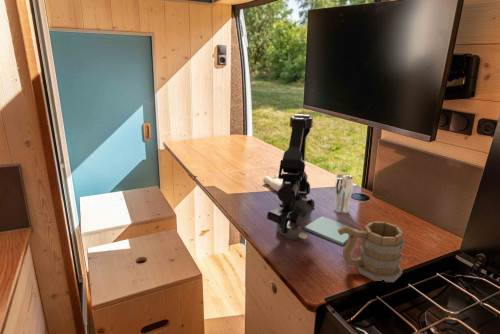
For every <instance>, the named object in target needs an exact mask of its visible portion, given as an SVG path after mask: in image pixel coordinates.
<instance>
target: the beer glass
mask: <svg viewBox="0 0 500 334" xmlns="http://www.w3.org/2000/svg"><path fill="white" fill-rule="evenodd" d="M335 177H336V178H335V185H334V195H335V196H334V197H335V204H334V208H333V211H334V212H336V213H338V214H347V213H349V211H350V208H349V207H350V205H349V204H350V199H351V198H352V197H351V196H352V193H353V187H354V186H353V185H354V177H353V176H352V175H350V174H346V173H345V174H344V173H339V174H337V175H336V176H335Z"/></svg>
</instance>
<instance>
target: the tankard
mask: <svg viewBox="0 0 500 334" xmlns="http://www.w3.org/2000/svg"><path fill="white" fill-rule="evenodd" d="M347 226H348V225H347ZM347 226H344V227H342V228H339V229H338V232H339V234H340V235H342V234H344V233H347V234H348V235H349V237H348V241H347V242H346V243H345V244H344V247H343V249H342V259H344V262H345V264H346V265H349V266H353V267H354V266H356V268H357V270H358V271H357V272H358V273H359V274H360V275H361V276H363V277H366V278H368V279H369V280H371V281H373V282H375V281H382V280H384V281H385V282H384V283H395V282H396V281H397V280H398V278H400V277H401V276H402V275H403V269H402V268H401V266H400V264H401V263H402V260H403V254H401V252H402V250H403V249H404V248H405V243H406V242H405V240H404V232H403V231H402V229H401V228H400V227H399V226H398V225H395V224H393V223H390V222H388V221H387V222H386V221H370V222H369V223H367V224H365V225H364V229H363V230H359V231H356V230H354V229H351V228H349V227H350V226H349V227H347ZM357 238H360V240H361V242H362V245H360V246H359V250H358V253H359V255H360V256H359V257H357V258H356V257H355V258H354V257H351V253H352V250H353V249H354V247H355V245H356V242H357ZM401 274H402V275H401Z"/></svg>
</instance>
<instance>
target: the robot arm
mask: <svg viewBox="0 0 500 334" xmlns="http://www.w3.org/2000/svg"><path fill="white" fill-rule="evenodd" d="M313 123H314V118H313V117H311V115H310V114H300V113H294V114H293V116H290V117H289V127H290V128H291V133H290V140H289V144H288V145H289V146H288V148H287V150H285V151H284V152H283V156H282V158H281V159H280V164H279V168H278V169H279V170H278V174H279V176H278V179H283V182H282V184H281V187H280V189H279V191H278V192H277V197H278V199H279V201H281V203H279V205H278V206H279V207H280V208H282V209H278V208H273V209H272V210H269V211H267V213H266V219H267V220H268V221H271V222H274V223H275V224H277V223H278V224H279V226H280V228H281V230H282V232H283V233H286V230H287V223H288V221H289V222H292V223H294V224H297V223H298V221H299V219H300V218H302V219H306V218H308V217H309V216H311V214H312V212H313V211H314V210H315V200H313V198H311V199H308V197H307V196H308V195H310V193H311V185H310V182H309V180H308V175H307V173H306V171H305V170H306V169H305V168H306V164H305V161H306V160H305V159H306V148H307V147H306V144H307V137H308V135H309V134H310V131H312V130H311V129H312V128H313V125H314V124H313Z"/></svg>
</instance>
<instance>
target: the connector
mask: <svg viewBox="0 0 500 334" xmlns="http://www.w3.org/2000/svg"><path fill="white" fill-rule="evenodd" d="M276 232H277V234H279V235H281V236H284V237H285V238H288V239H290V240H293V241H299V240H301V239H303V240H305V239H306V238H308V234H306V233H304V232H302V226H300V225H298V224H297V223H296V224H294V223H292V222H290V221H288V223H287V230H286V233H283V232H282V230H281V228H280V226H279V224H278V223H276Z"/></svg>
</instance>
